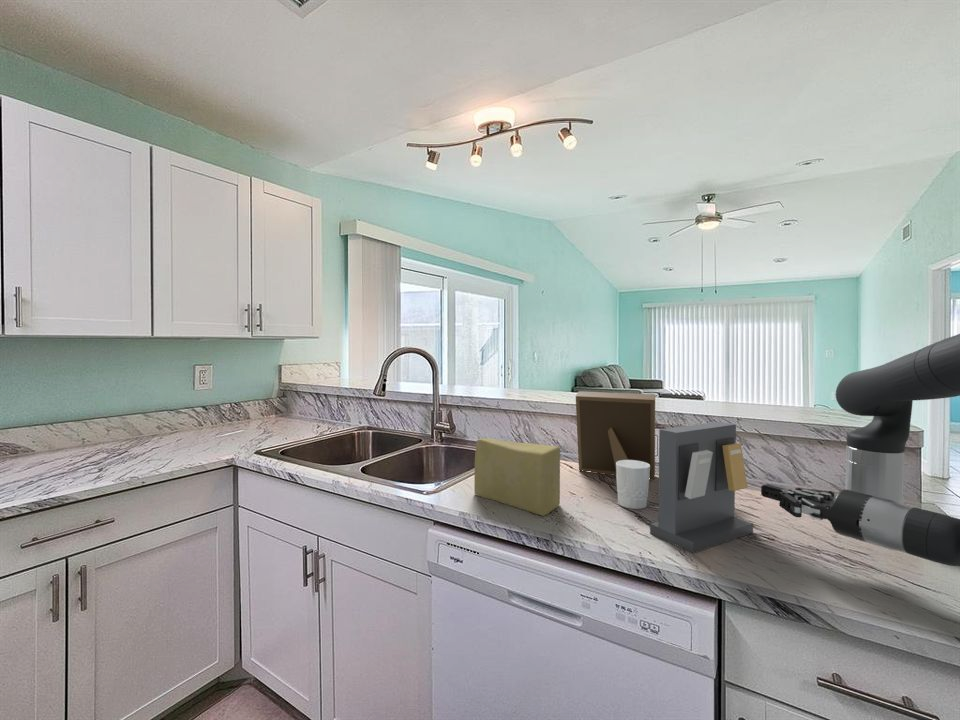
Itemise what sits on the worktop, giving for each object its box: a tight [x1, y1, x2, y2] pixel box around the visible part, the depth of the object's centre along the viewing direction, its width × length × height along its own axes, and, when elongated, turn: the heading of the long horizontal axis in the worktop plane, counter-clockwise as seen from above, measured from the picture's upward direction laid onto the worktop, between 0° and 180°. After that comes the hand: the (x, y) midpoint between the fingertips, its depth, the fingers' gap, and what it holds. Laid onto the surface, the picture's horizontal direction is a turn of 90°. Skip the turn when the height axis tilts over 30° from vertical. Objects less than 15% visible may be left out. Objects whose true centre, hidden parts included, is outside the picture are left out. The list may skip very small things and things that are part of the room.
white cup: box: [615, 460, 650, 510], centre depth 110 cm, size 8×8×10 cm
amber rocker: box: [722, 442, 748, 492], centre depth 92 cm, size 4×1×9 cm, turn 118°
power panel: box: [649, 421, 754, 554], centre depth 93 cm, size 19×10×22 cm, turn 118°
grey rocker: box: [685, 450, 713, 499], centre depth 87 cm, size 4×1×9 cm, turn 118°
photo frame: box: [575, 390, 656, 480], centre depth 131 cm, size 15×22×25 cm
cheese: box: [473, 437, 561, 517], centre depth 111 cm, size 22×10×15 cm, turn 56°
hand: (763, 489), depth 87 cm, fingers closed
